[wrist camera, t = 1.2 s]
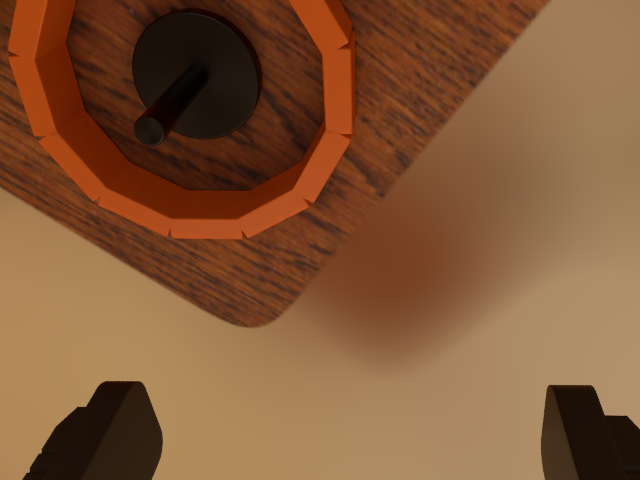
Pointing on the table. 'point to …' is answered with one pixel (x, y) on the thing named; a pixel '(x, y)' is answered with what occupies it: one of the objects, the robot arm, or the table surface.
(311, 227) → the table surface
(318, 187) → the hoop
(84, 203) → the table surface
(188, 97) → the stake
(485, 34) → the table surface
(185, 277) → the table surface
